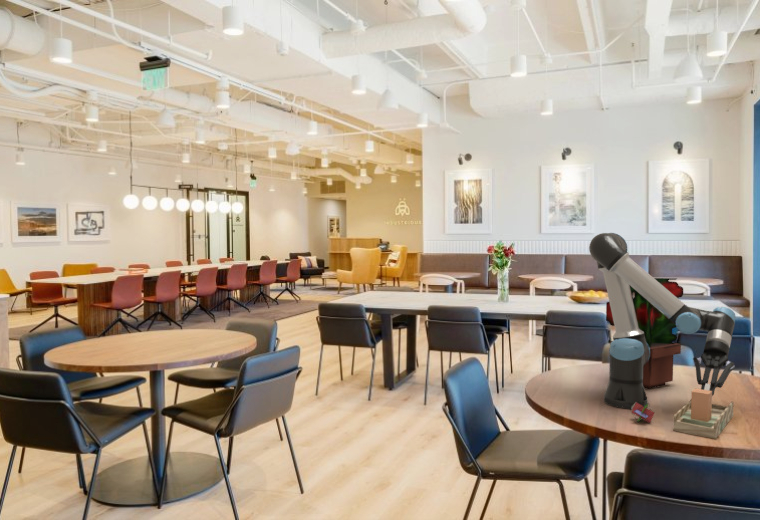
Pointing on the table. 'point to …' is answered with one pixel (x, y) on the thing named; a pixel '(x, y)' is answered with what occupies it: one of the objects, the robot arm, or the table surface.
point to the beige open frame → (703, 428)
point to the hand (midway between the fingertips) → (704, 402)
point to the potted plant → (655, 335)
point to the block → (701, 404)
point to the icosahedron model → (642, 412)
